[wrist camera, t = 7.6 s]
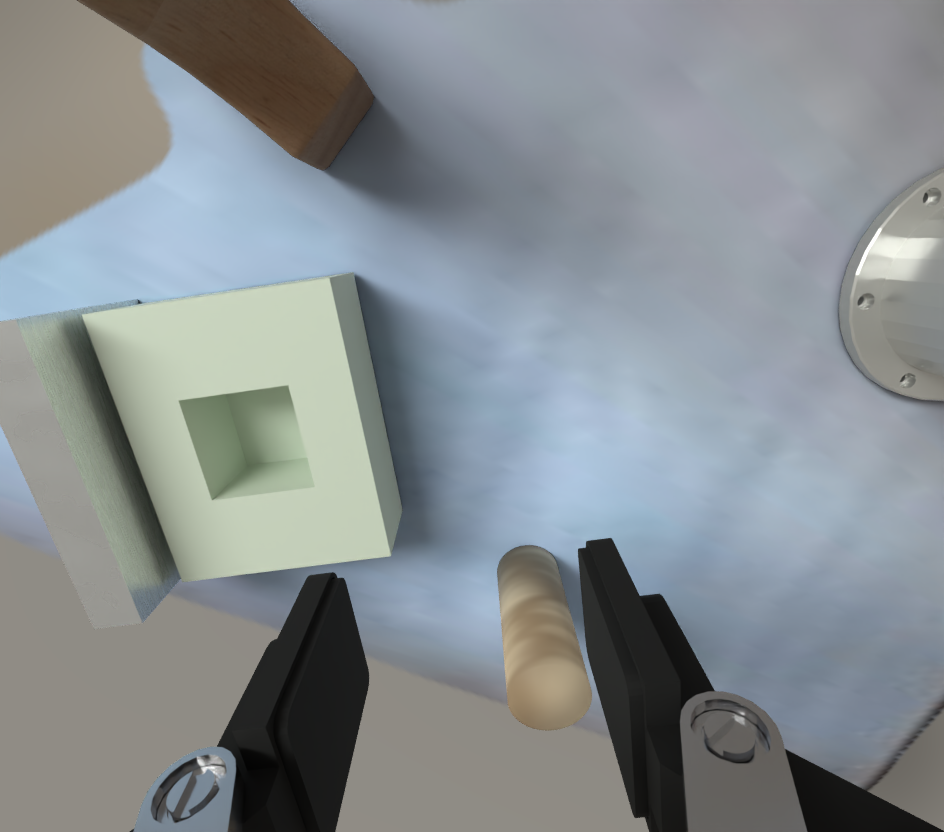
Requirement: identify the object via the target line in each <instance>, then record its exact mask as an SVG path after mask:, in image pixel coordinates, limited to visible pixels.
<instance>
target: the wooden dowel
mask: <svg viewBox="0 0 944 832" xmlns="http://www.w3.org/2000/svg"><path fill="white" fill-rule="evenodd" d="M497 577H498V589H499V601H500V613H501V625H502V638H503V650H504V662H505V674H506V687H507V699H508V706H509V709H510V711H511V713H512V714H513V716H514V717H515V718H516V719H517V720H518V721H519V722H521V723H522V724H524V725H526V726H528V727H531V728H534V729H539V730H557V729H562V728H565V727H568V726H570V725H572V724H574V723H575V722H577V721H578V720H580V719H581V718H582V717H583V716H584V715H585V714H586V712H587V711H588V709H589V707H590V704H591V700H592V692H591V687H590V684H589V680H588V676H587V673H586V669H585V665H584V662H583V658H582V654H581V651H580V647H579V643H578V639H577V636H576V632H575V628H574V625H573V621H572V617H571V614H570V610H569V606H568V603H567V599H566V595H565V592H564V588H563V584H562V581H561V577H560V573H559V569H558V566H557V563H556V560H555V558H554V557H553V556H552V555H551V554H550V553H549V552H548V551H547V550H545V549H543V548H541V547H538V546H533V545H525V546H519V547H516V548H514V549H512V550H510V551H509V552H507V553H506V554H505V555H504V556H503V557H502V559H501V560H500V562H499V565H498V568H497Z"/></svg>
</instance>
